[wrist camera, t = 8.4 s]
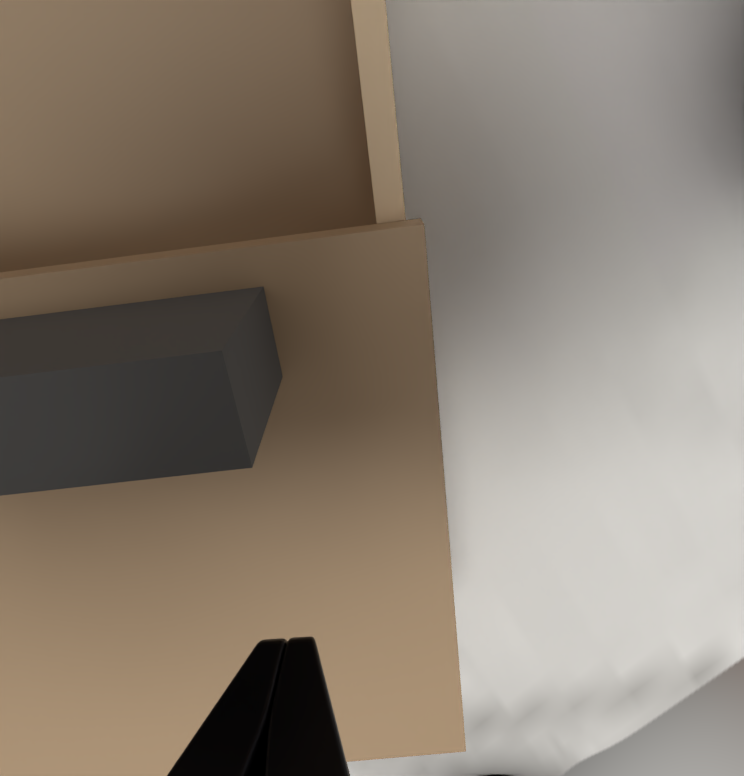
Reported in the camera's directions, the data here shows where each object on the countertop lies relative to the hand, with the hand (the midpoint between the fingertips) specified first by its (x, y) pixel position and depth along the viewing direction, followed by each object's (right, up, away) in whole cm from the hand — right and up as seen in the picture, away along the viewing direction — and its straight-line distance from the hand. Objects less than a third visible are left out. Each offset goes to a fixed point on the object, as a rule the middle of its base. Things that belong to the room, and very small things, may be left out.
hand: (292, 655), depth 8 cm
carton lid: (-6, -1, +7) cm, 9 cm away
